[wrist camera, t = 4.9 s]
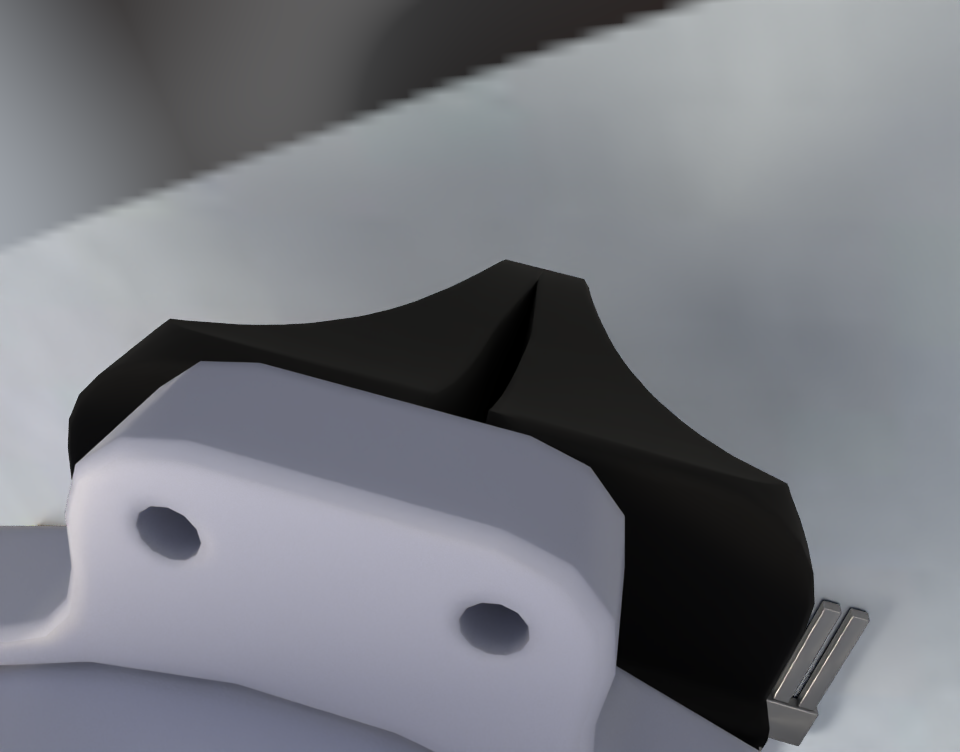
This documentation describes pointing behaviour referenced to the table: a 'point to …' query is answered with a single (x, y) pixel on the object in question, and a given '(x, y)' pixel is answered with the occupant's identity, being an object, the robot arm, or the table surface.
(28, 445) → the table surface
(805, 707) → the fork
